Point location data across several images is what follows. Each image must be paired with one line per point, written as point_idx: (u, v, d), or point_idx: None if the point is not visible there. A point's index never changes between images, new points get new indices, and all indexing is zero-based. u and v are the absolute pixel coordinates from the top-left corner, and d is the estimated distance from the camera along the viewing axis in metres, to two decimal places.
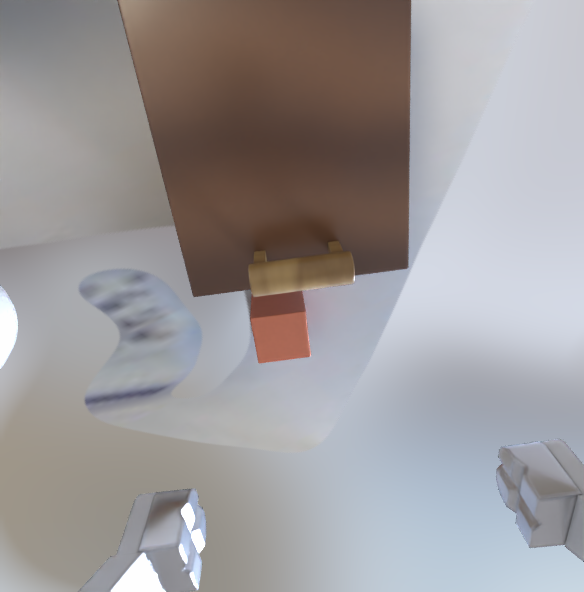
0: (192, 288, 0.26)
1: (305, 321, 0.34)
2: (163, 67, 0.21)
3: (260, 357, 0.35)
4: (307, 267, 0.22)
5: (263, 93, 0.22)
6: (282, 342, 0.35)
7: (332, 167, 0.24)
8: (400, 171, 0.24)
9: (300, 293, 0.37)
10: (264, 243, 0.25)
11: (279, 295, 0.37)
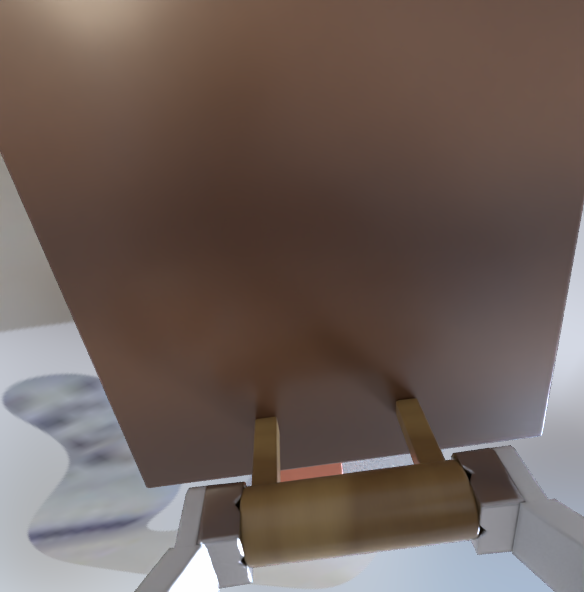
0: (143, 476, 0.14)
1: (339, 463, 0.22)
2: (34, 74, 0.09)
3: None
4: (372, 518, 0.10)
5: (268, 128, 0.10)
6: None
7: (412, 273, 0.11)
8: (552, 275, 0.12)
9: None
10: (274, 405, 0.13)
11: None
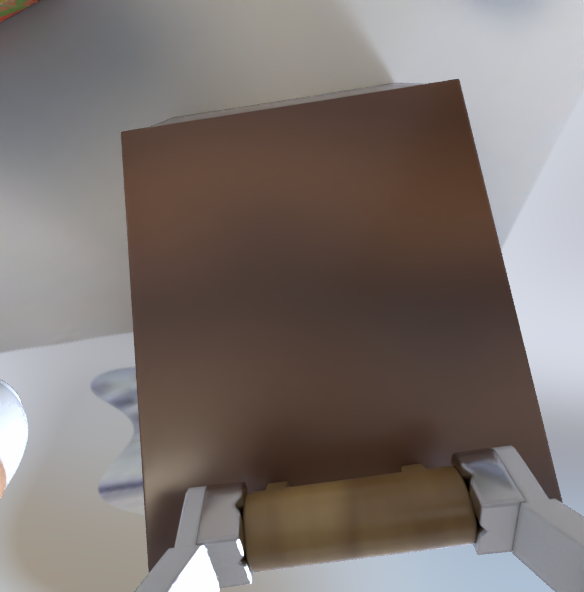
0: (149, 560, 0.14)
1: None
2: (161, 213, 0.16)
3: None
4: (367, 496, 0.10)
5: (288, 238, 0.16)
6: None
7: (394, 335, 0.15)
8: (507, 339, 0.15)
9: None
10: (286, 467, 0.14)
11: None
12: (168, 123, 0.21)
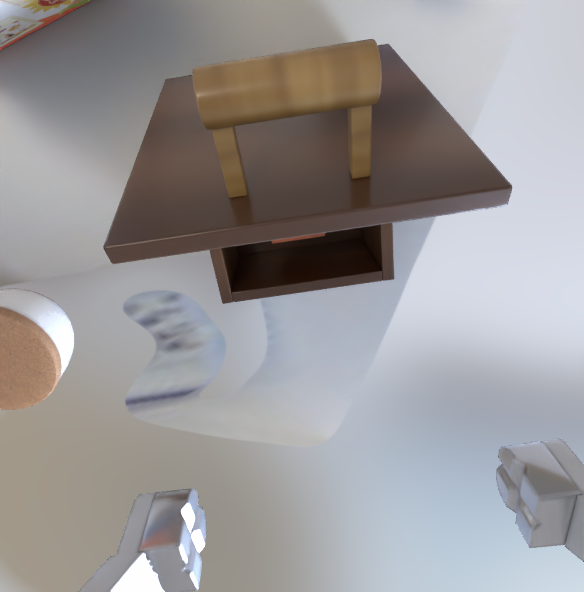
0: (108, 236, 0.15)
1: None
2: (181, 98, 0.23)
3: None
4: None
5: None
6: None
7: (344, 120, 0.19)
8: (435, 113, 0.18)
9: None
10: (248, 180, 0.16)
11: None
12: None
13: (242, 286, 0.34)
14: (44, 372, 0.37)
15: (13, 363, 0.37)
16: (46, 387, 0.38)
